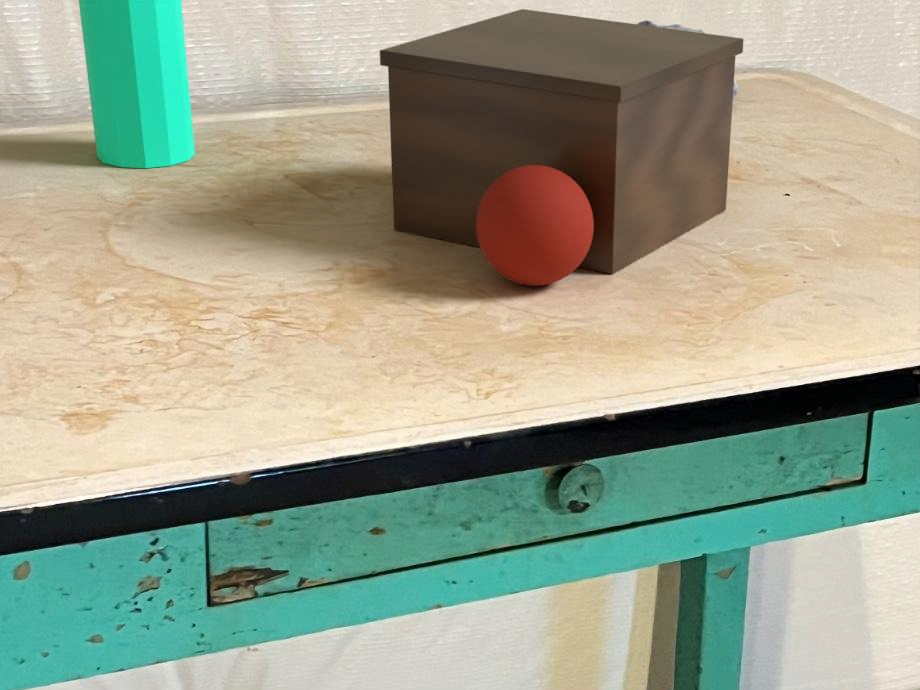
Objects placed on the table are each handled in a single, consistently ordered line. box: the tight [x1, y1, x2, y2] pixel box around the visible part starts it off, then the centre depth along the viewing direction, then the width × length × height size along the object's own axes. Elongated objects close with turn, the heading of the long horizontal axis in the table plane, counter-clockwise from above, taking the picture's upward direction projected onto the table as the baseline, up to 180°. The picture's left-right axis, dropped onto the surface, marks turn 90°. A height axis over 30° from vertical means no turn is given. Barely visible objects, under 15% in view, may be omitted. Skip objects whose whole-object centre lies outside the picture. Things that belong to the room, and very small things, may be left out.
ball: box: [476, 165, 594, 286], centre depth 86 cm, size 6×6×6 cm
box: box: [379, 8, 744, 275], centre depth 95 cm, size 15×15×10 cm
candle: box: [78, 0, 196, 169], centre depth 104 cm, size 6×6×12 cm
